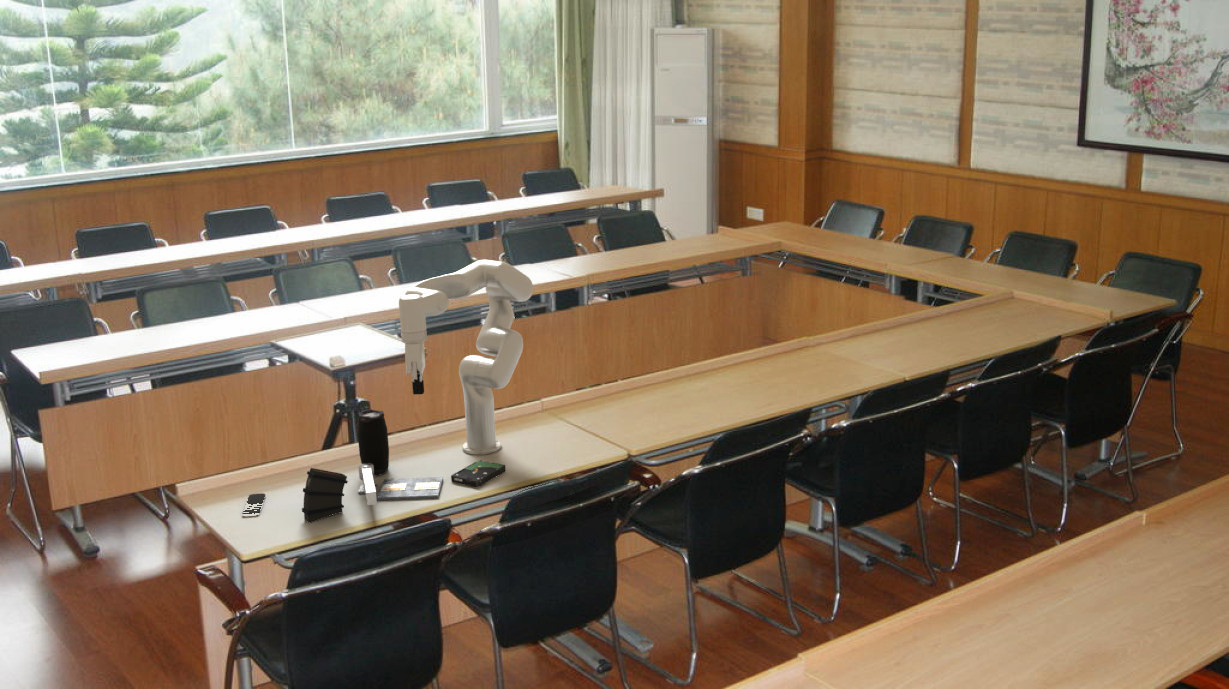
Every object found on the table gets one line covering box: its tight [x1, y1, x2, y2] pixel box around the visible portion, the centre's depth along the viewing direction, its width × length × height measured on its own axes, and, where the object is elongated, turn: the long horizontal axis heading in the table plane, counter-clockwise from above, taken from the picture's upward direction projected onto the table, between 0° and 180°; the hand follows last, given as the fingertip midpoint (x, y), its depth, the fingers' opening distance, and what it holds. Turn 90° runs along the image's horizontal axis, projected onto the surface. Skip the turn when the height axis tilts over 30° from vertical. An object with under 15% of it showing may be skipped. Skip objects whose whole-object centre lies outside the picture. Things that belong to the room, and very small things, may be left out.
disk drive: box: [450, 459, 507, 489], centre depth 371 cm, size 10×3×15 cm
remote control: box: [241, 492, 266, 514], centre depth 353 cm, size 5×2×15 cm
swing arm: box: [358, 463, 377, 506], centre depth 352 cm, size 4×23×4 cm, turn 15°
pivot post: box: [357, 482, 379, 495], centre depth 362 cm, size 5×5×4 cm
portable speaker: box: [357, 408, 390, 477], centre depth 374 cm, size 9×9×20 cm
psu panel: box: [376, 476, 444, 501], centre depth 362 cm, size 14×18×1 cm
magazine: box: [301, 467, 349, 523], centre depth 344 cm, size 4×13×15 cm, turn 130°
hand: (418, 393), depth 365 cm, fingers closed
